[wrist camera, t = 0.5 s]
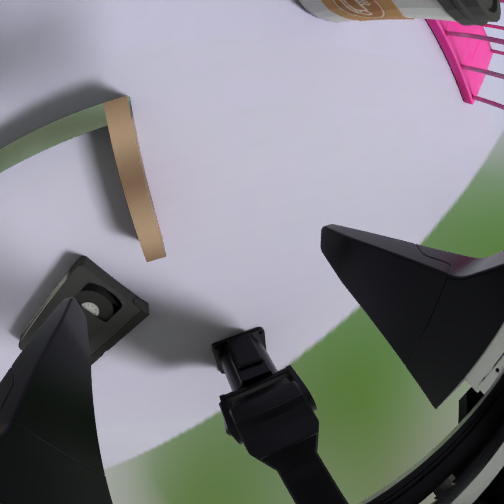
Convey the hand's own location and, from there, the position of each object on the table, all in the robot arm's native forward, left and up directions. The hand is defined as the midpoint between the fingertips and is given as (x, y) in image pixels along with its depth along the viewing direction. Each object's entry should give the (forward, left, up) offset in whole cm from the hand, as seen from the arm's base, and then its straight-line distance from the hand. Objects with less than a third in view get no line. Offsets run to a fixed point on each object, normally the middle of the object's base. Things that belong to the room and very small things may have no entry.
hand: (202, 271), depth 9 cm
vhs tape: (-11, +13, -14) cm, 22 cm away
